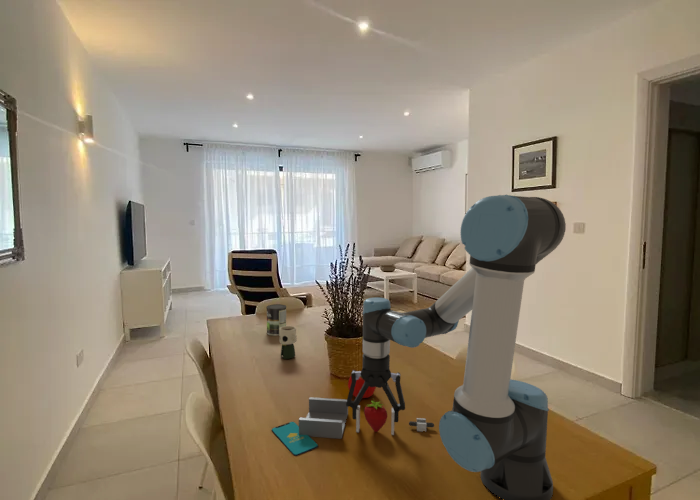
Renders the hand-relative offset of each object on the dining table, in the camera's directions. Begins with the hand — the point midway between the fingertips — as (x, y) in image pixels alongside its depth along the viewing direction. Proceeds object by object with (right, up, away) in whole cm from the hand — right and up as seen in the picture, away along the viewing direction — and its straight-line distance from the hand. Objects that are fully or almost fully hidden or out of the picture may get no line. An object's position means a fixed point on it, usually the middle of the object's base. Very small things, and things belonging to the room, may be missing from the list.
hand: (375, 430), depth 109 cm
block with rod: (+13, 0, +2) cm, 14 cm away
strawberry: (0, 0, 0) cm, 0 cm away
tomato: (-3, +1, +22) cm, 23 cm away
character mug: (-34, +4, +57) cm, 67 cm away
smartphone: (-23, -1, -3) cm, 23 cm away
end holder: (-15, 0, +4) cm, 15 cm away
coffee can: (-46, +7, +93) cm, 104 cm away
